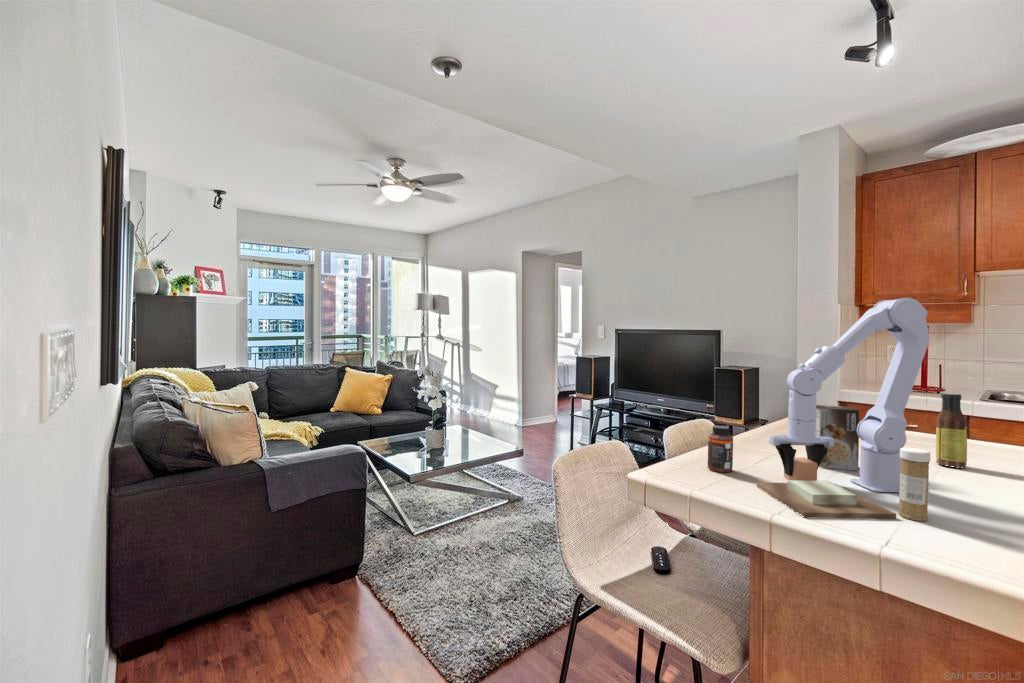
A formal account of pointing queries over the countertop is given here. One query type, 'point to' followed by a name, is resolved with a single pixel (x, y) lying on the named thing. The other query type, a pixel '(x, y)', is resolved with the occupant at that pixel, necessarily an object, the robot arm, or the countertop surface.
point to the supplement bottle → (720, 449)
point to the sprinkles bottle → (914, 483)
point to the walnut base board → (826, 509)
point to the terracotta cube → (803, 470)
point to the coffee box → (839, 436)
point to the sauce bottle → (951, 432)
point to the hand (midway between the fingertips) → (800, 474)
